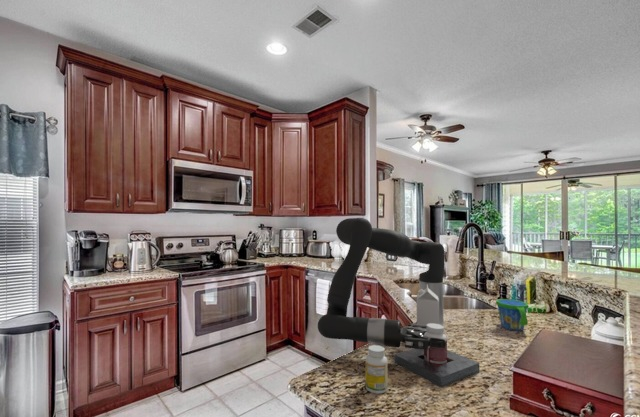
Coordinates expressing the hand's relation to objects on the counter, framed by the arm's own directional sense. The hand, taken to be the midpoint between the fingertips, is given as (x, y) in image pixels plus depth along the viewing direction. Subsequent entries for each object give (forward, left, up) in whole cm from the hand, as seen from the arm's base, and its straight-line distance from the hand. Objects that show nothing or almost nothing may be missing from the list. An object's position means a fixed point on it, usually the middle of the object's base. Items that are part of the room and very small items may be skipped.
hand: (444, 339), depth 87 cm
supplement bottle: (-2, -24, -8) cm, 25 cm away
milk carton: (-16, +12, -8) cm, 21 cm away
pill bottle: (-2, -2, -8) cm, 8 cm away
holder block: (-2, -2, -8) cm, 8 cm away
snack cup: (-9, +53, -8) cm, 54 cm away
